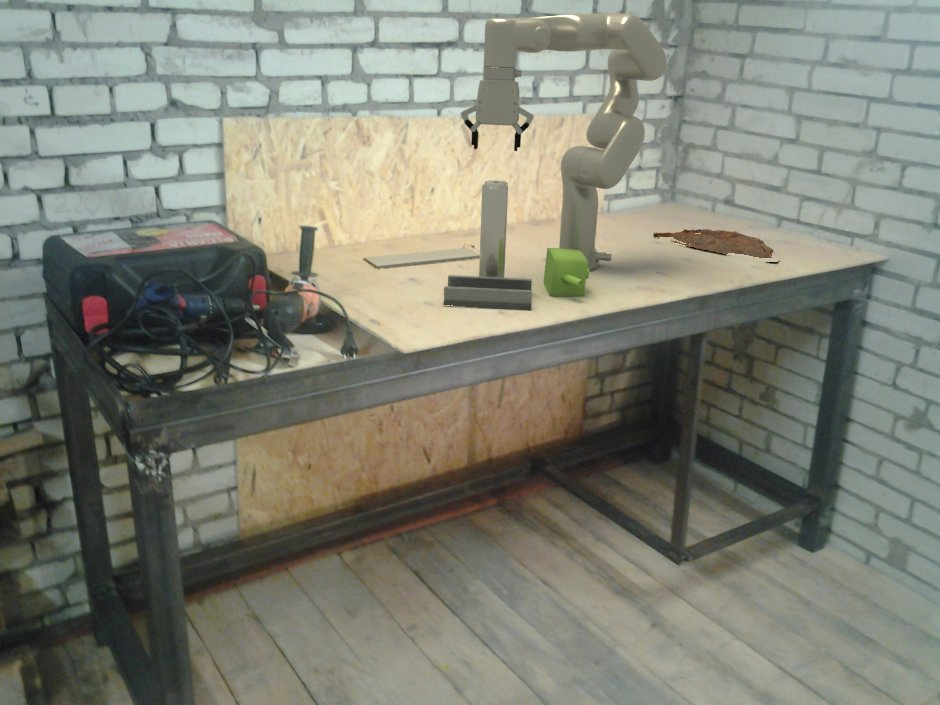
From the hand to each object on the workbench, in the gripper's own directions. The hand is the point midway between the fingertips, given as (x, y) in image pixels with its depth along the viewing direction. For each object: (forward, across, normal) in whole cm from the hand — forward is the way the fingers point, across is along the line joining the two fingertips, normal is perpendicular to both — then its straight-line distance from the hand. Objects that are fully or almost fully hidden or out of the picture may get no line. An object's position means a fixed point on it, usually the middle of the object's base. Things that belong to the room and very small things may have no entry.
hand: (495, 149), depth 209 cm
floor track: (+33, -1, +16) cm, 37 cm away
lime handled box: (+33, -20, +6) cm, 39 cm away
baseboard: (+33, +20, -18) cm, 43 cm away
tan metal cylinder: (+33, 0, 0) cm, 33 cm away
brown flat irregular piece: (+33, -70, -50) cm, 92 cm away
